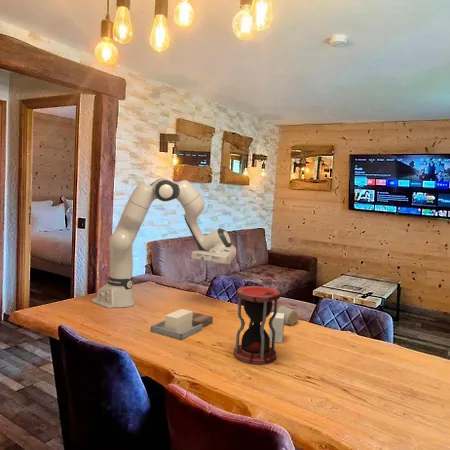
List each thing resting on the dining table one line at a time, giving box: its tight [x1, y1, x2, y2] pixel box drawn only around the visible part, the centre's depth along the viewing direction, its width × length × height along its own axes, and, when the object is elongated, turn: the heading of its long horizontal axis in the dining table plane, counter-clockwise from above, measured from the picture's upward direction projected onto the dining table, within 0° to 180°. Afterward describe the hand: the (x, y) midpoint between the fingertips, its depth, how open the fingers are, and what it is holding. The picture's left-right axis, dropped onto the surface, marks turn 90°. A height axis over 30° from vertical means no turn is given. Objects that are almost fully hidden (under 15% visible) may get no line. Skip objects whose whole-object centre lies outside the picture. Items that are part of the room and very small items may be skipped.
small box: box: [268, 311, 285, 344], centre depth 175 cm, size 8×6×10 cm
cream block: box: [164, 308, 194, 333], centre depth 180 cm, size 6×7×12 cm
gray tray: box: [150, 319, 203, 341], centre depth 180 cm, size 16×16×2 cm
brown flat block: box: [192, 311, 214, 329], centre depth 191 cm, size 14×10×3 cm
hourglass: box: [233, 285, 281, 365], centre depth 157 cm, size 16×16×25 cm
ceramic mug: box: [277, 305, 299, 326], centre depth 199 cm, size 11×8×8 cm
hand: (202, 258), depth 204 cm, fingers closed
